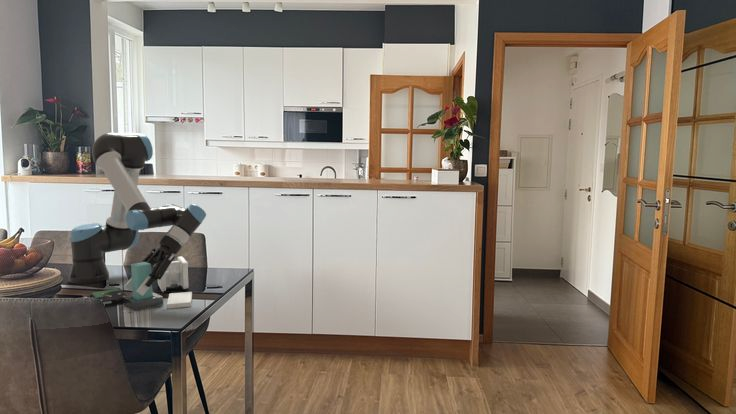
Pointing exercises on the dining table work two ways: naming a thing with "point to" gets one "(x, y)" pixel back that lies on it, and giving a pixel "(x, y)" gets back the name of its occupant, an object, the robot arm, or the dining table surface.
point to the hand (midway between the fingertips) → (133, 290)
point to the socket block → (142, 302)
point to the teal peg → (140, 279)
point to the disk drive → (110, 296)
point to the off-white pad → (179, 300)
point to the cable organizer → (175, 274)
